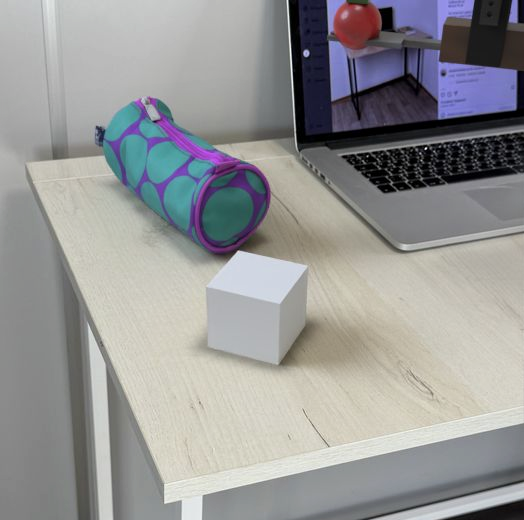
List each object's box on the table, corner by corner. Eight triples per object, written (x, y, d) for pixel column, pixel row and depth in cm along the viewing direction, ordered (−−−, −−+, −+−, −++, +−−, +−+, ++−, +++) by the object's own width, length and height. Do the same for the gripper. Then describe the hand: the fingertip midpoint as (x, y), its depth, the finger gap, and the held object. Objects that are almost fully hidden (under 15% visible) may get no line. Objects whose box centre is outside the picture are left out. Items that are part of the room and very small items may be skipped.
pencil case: (98, 185, 93) (89, 97, 88) (172, 167, 97) (167, 81, 92) (195, 271, 79) (191, 172, 74) (277, 246, 83) (279, 150, 78)
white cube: (305, 329, 72) (308, 265, 69) (278, 369, 68) (280, 304, 64) (238, 312, 74) (238, 250, 70) (207, 351, 70) (205, 286, 66)
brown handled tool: (579, 64, 71) (592, 9, 69) (579, 80, 68) (592, 22, 66) (335, 39, 76) (338, -14, 73) (324, 52, 73) (327, -2, 70)
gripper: (493, -302, 64) (449, 27, 78) (471, -307, 52) (424, 84, 66) (601, -301, 63) (536, 36, 76) (603, -306, 51) (526, 95, 64)
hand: (484, 57), depth 71 cm, fingers closed on brown handled tool, 2 cm apart
